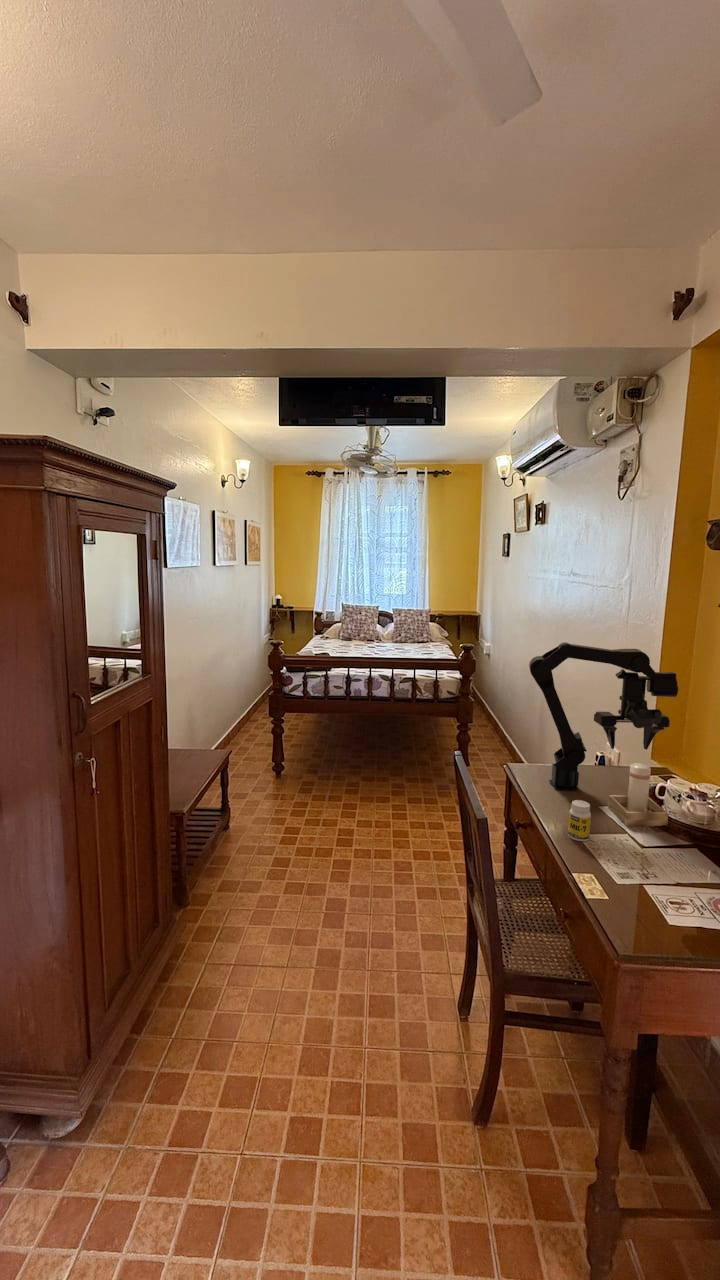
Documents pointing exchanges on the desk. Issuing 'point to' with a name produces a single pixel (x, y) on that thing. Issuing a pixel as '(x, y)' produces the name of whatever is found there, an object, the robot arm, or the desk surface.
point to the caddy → (637, 813)
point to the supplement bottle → (579, 821)
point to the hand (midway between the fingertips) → (628, 748)
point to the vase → (638, 788)
